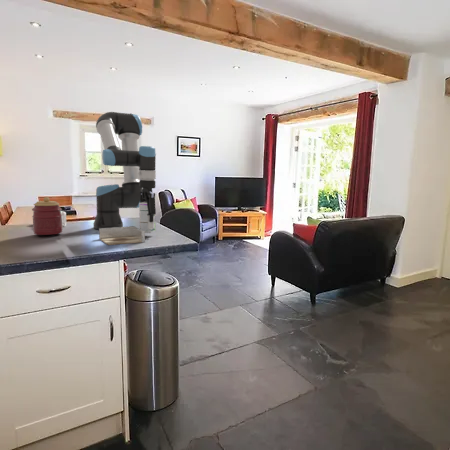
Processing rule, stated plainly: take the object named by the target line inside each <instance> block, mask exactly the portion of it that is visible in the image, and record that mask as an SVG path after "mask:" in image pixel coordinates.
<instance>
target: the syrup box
mask: <svg viewBox="0 0 450 450" xmlns="http://www.w3.org/2000/svg"><path fill="white" fill-rule="evenodd" d="M138 210H139V218H138V219H139V229H141V230H144V231H145V234H151V233H153V232H156V214H154V229H148V215H147V214H148V208H147V202H141V203H139V208H138Z"/></svg>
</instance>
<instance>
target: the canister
mask: <svg viewBox="0 0 450 450" xmlns="http://www.w3.org/2000/svg"><path fill="white" fill-rule="evenodd" d="M60 205H61V204H60V203H59V202H57V201H56V200H55V201H54V200H50V197H48V196H45V197H43V200H41V201H36V202H35V203H33V206H34V207H33V208H31V211H32V216H31V218H32V231H33V234H34V235H40V236H49V235H58V234H62V232H63V227H62V215H61V211H62V210H63V208H61V206H60Z"/></svg>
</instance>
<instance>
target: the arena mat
mask: <svg viewBox="0 0 450 450" xmlns="http://www.w3.org/2000/svg"><path fill="white" fill-rule="evenodd" d="M99 240H100V241H101V242H103V243H104V244H106V245H107V246H117V245H127V244H128V245H129V244H138V243H143V242H142V241H141V240H139V239H137V238H135V237H133V236H125V237H112V238H100V239H99Z"/></svg>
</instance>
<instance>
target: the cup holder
mask: <svg viewBox="0 0 450 450" xmlns="http://www.w3.org/2000/svg"><path fill="white" fill-rule="evenodd" d="M61 215H62V227H67V212H66V211H62V210H61Z"/></svg>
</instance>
